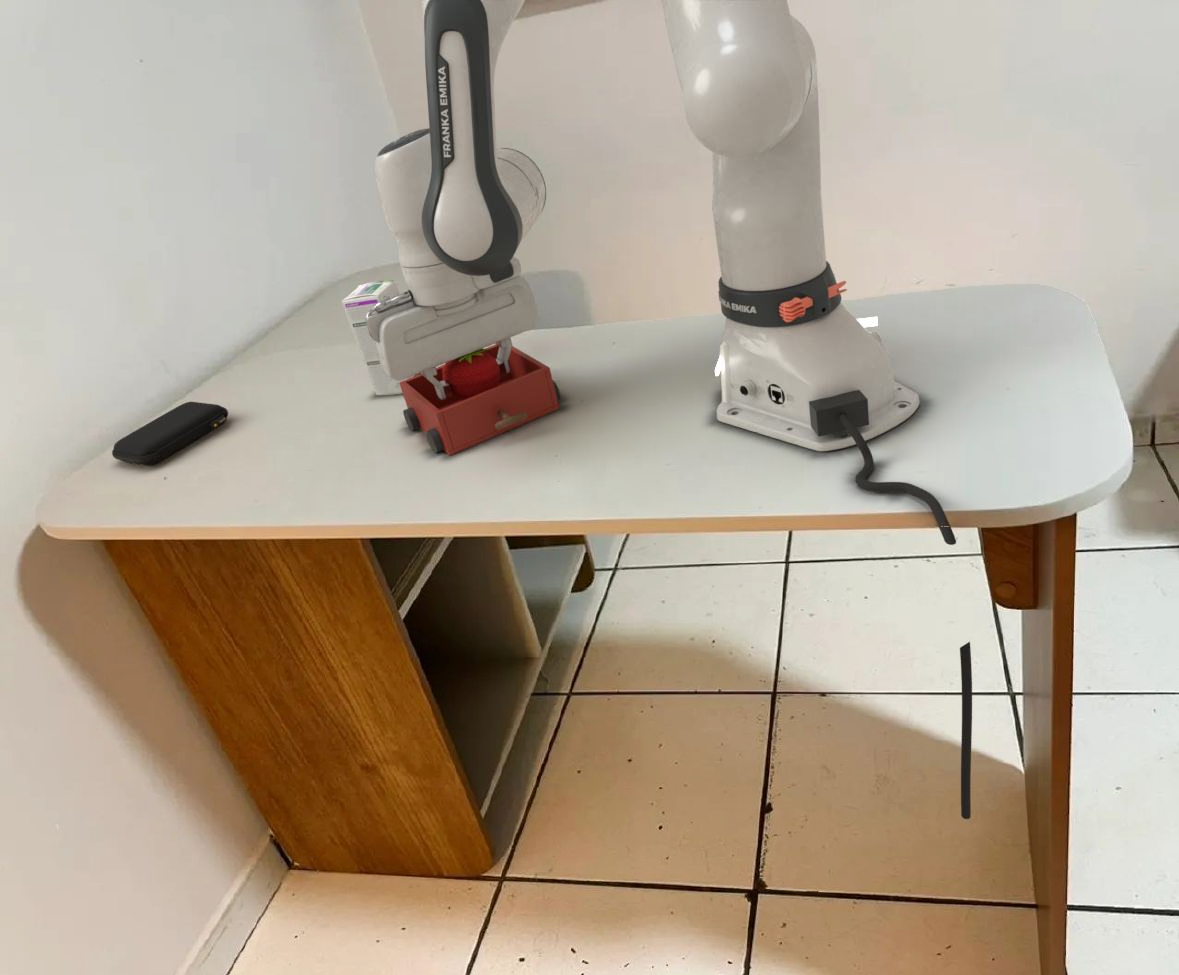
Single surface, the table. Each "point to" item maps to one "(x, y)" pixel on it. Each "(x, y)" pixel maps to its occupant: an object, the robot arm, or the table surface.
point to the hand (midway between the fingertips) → (474, 384)
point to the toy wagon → (480, 404)
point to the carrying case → (170, 433)
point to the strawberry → (472, 374)
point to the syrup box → (356, 313)
